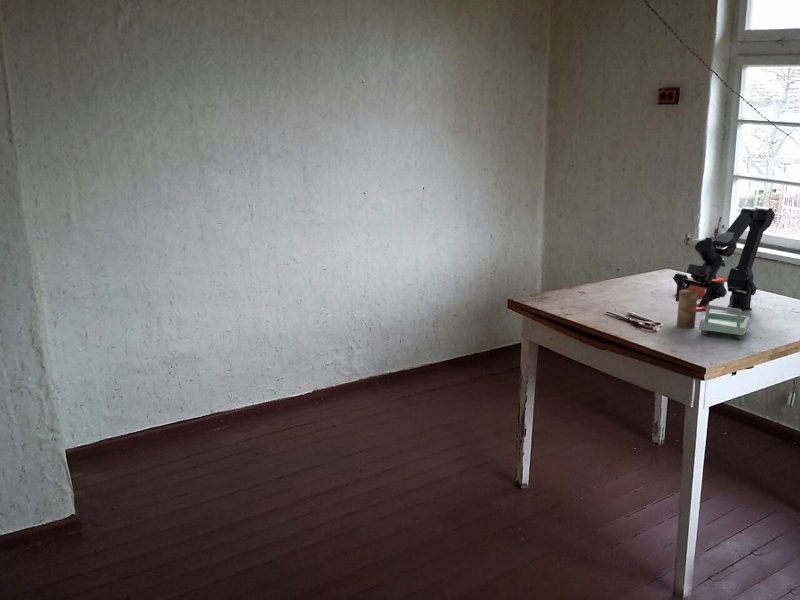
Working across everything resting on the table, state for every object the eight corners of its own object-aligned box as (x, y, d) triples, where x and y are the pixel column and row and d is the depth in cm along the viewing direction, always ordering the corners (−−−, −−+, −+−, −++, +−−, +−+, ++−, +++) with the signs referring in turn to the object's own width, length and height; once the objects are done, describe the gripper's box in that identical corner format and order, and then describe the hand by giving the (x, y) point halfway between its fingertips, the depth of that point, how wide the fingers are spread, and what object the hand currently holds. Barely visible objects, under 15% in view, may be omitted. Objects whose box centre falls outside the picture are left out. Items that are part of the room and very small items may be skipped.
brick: (693, 299, 301) (694, 285, 300) (675, 294, 309) (676, 280, 307) (723, 293, 310) (725, 278, 308) (705, 288, 317) (706, 274, 316)
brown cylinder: (690, 322, 272) (692, 289, 269) (697, 327, 267) (700, 293, 263) (673, 323, 272) (676, 289, 269) (681, 328, 266) (683, 294, 263)
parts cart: (705, 324, 270) (708, 294, 267) (748, 330, 263) (751, 299, 260) (698, 335, 258) (701, 304, 255) (743, 341, 251) (746, 310, 248)
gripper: (678, 251, 273) (656, 285, 270) (725, 260, 258) (702, 296, 255) (689, 269, 279) (668, 303, 276) (736, 279, 265) (714, 314, 262)
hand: (687, 303), depth 267 cm, fingers open, 9 cm apart
